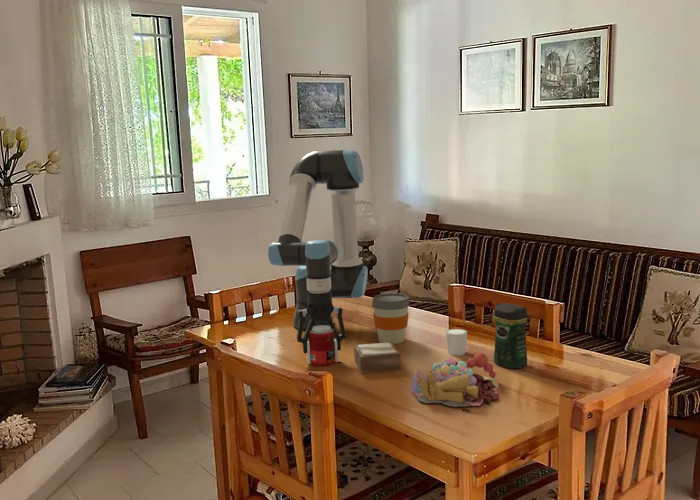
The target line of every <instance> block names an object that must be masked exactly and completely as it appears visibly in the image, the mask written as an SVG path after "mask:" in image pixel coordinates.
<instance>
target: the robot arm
mask: <svg viewBox="0 0 700 500" xmlns="http://www.w3.org/2000/svg"><path fill="white" fill-rule="evenodd" d="M363 182H364V167H363V162H362V158H361V156H360V153H359V152H358V151H356V150H353V149H352V150H351V149H335V150H334V149H333V150H332V149H331V150H315V151H314V150H313V151H312V152H309V153H307V154H305V155H304V156H303V157H301V159H299V160H298V161H297V163H296V164H295V165H294V167H293V168H292V170H291V172H290V175H289V179H288V185H289V187H290V188H289V193H288V197H287V202H286V206H285V210H284V212H283V213H284V214H283V217H282V218H283V219H282V223H281V227H280V232H279V236H278V241H275V242H271V243H270V244H269V245H268V249H267V250H268V251H267V258H268V261H269V263H270V265H272V266H279V267H285V266H287V267H289V266H290V267H291V266H293V267H294V266H298V267H297V268H295V278H294V281H295V291H296V292H295V293H296V307H295V312H294V315H293V319H292V323H293V327H294V328H295V329H297V333H296V340H297V343H302V351H303V353H304V354H306V361H307V362H306V363H307V365H311V362H310V344H309V336H310V330H311V331H312V328H313V326H318V325H327V326H330V327H331V329H333V330H334V346H335V361H334V363H335V362H336V363H338V362H339V356H338V354H339V353H338V351H341V350H342V349H341V348H342V347H341V346H342V345H341V344H342V343H341V342H342V340H343V339H346V338H347V335H346V334H347V333H346V329H345V324H344V319H343V308H342V307H341V306H334V305H333V298H334V299H335V298H336V299H360V298H362V297H363V296H364V295H365V292H366V289H367V283H368V273H369V272H368V267H367V266H365V265H364V263H363V262H364V261H363V260H362V258H360V257H359V251H358V250H359V249H358V246H359V245H358V244H359V243H358V226H357V204H356V202H357V201H356V192H357V190H358V189H359V188H360V184H361V183H363ZM319 184H320V185H322V184H323V185H324V184H325V185H326V190H327V191H328V192H329V193H330V195H331V197H330V198H331V211H332V212H331V213H332V215H331V216H332V227H333V228H332V230H333V241H332V240H327V239H326V240H325V239H314V240H313V239H312V240H308V241H306V242H305V241H303V242H302V239H303V234H304V231H305V226H306V221H307V216H308V212H309V208H310V202H311V197H312V194H313V193H312V192H313V191H315V189H316V187H317V185H319ZM333 312H334V314H336V317H337V320H338V321H337V322H338V325H339V326H338V328H339V331H340V334H339V332H338V331H337V329H336V327H335V325H334V316H333ZM304 330H305V332H304V334H303V331H304Z"/></svg>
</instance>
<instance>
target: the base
mask: <svg viewBox="0 0 700 500" xmlns="http://www.w3.org/2000/svg"><path fill="white" fill-rule="evenodd" d="M353 353H354V362H355V364H356V366H357V368H358V369H359V372H360V373H361V374H367V373H369V374H370V373H377V372H378V373H379V372H380V373H381V372H389V371H400V370H401V368H402V365H401V363H402V362H401V353H400V352H399V350H398V348H396V346H395V344H393V343H392V342H386V343H381V342H378V343H377V342H375V343H365V344H354V345H353Z"/></svg>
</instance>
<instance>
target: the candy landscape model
mask: <svg viewBox="0 0 700 500" xmlns="http://www.w3.org/2000/svg"><path fill="white" fill-rule="evenodd" d="M431 367H432V369H431V370H428V371H427V370H425V371H424V374H421V370H419V372H417V370H414V372H413V373H412V375H411V376H412V382H411V386H410V389H411V390H410V391H411V393H410V394H412V395H413V396H414V397H415V396H416V397H417V398H416V399H417V400H418V401H419V402H422V403H424V404H440V403H441V404H443V405H444V406H445V405H446V406H448V407H454V408H457V407H471V406H472V407H474V406H477V407H478V406H482V405H483V403H486V404H489V405H491V400H494V401H497V400H498V399H499V396H500V395H499V393H498V390H499V388H498V387H500V384H499V383H498V381H497V377H496V376H497V373H496V371H494V365H493V364H492V363H491V362H488V356H487V355H486V354H485V353H482V352H477V353H476V354H474V356H473V358H472V357H471V358H469V359H467V360H466V362H465V361H462V360H460V361H458V362H457V361H456V360H455V358H453V357H448V358H446V359H444V358H441V359H440V361H439V362H434V363H433V364H432V366H431ZM475 367H477V368H479V369H480V368H483V370H484V372H486V373H488V376H489V377H487V376H484V375H480V374H477V373H474V370H473V368H475Z"/></svg>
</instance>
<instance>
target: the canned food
mask: <svg viewBox="0 0 700 500" xmlns="http://www.w3.org/2000/svg"><path fill="white" fill-rule="evenodd" d="M334 339H335V335H334V330H333V329H331V327H330V326H327V325H318V326H313V328H312V331H311V330H310V336H309V339H308V341H309V344H310V365H313V366H317V367H327V366H331V365H333V364H335V346H334Z"/></svg>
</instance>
